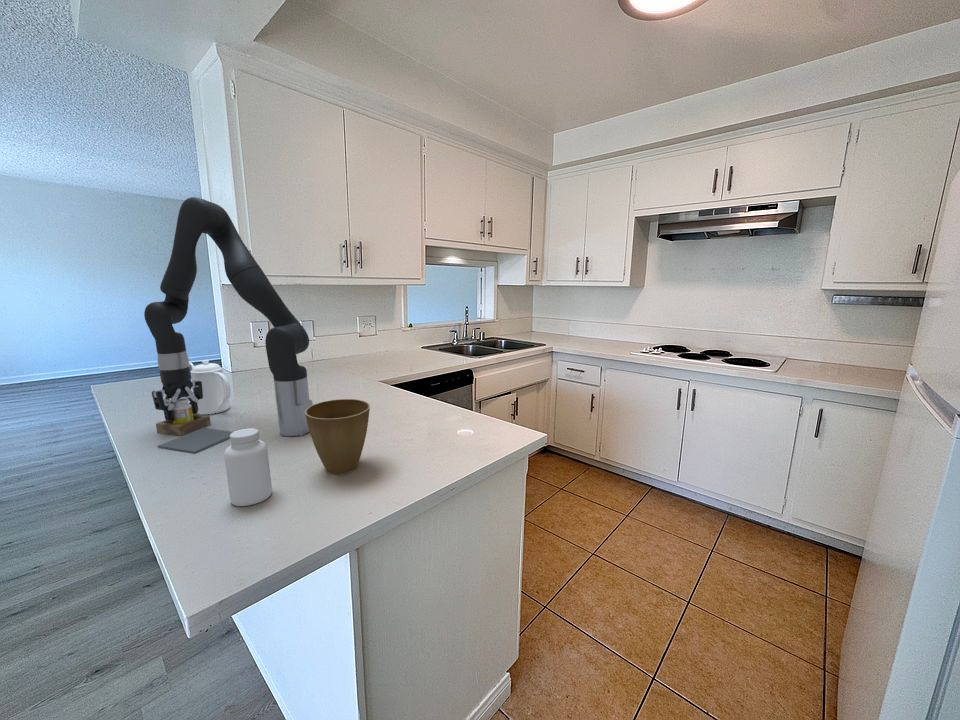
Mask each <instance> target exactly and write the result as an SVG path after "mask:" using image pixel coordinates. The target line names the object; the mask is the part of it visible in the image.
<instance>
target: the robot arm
mask: <svg viewBox="0 0 960 720" xmlns="http://www.w3.org/2000/svg"><path fill="white" fill-rule="evenodd" d="M175 226H176V227H175V232H174V236H173V237H174V239H173V244H172V249H171V254H170V259H169V262H168V265H167V267H166V270H165V272H164V275H163V277H162V281H161V283H160V287H159V288H160V292H162V293H163V294H164V295H165V297H164V300H163V301H154V302H150V303H149V304H147V305H146V306H145V308H144V313H143V315H144V320H145V323H146V326H147V327H148V329H149V331H150V333H151V335H152V337H153V339H154V341H155V342H154V343H155V347H156V353H157V365H158V371H159V376H160V381H161V384H162V388H161V389H159V390H152V391H151V396H152V400H153V404H154V408H155V410H157V411H158V410H159V411H163V413H164V415H163V416H164V419H165V420H167V421H169V422H172V421H174V415H173V410H171V409H172V407H173V405H174V403H175V402H176V400H177V399H181V398H186V399H187V401H188V403H189V404H191V407H192V413H193V414H196V413H197V411H198V404H197V402H198V400H199V399H202V398H203V391H202V382H201V381H193V382H192V374H191V371H192V370H191V365H189V362H190V360H189V355H188V353H187V348H186V347H187V346H186V340H185V337H184V335H183V334H182V333H181V332H177V331H175V328H174V326H173V325H176V324H179V323H181V322H182V321H183V320H184V319H185V318H186V316H187V314H188V311H189V310H188V309H189V301H190V299H189V298H190V297H189V296H190V293H191V290H192V288H193V285H194V283H195V281H196V278H197V274H198V273H197V272H198V271H197V270H198V265H197V255H196V249H197V244H198V242H199V239H200V237H201V236H202V234H206V235H207V236H209V237H210V238H211V240H213V242H214V243H215V245H216V246H217V247H218V249H219V250H220V252H221V255H222V257H223V264H224V266H223V267H224V272H225V275H226V277H227V280H229V283H230V284H231V285H232V287H233V288H234V290H235V291H236V293H237V294H238V296H240V298H241V299H242V300H244V301H245V302H246V303H247V304H248V305H250V306H251V307H252V308H254V309H255V310H257V311H258V312H260V313H261V314H262V315H263V316H264V317H265V318H266V319H268V321H269V322H270V324H271V325H272V326H273V327H272V328H270V329H269V330H268V331H267V333H266V336H265V341H264V343H265V351H266V357H267V363H268V367H269V371H270V372H271V373H272V376H273V377H272V378H273V384H274V393H275V403H276V409H277V410H276V411H277V421H278V428H279V434H280V436H284V437H296V436H298V437H299V436H301V437H302V436H304V435H306V434H308V433H310V431H309V428H308V424H307V420H306V415H305V410H306V409H307V408H308V407H310V406H312V405H314V403H313V399H312V400H311V399H310V393H309V391H310V390H309V382H308V371H307V368H306V367H305V366H303V365H300V364H299V363H298V358H297V357H298V356H297V355H299V354H301V353H303V352H305V351H307V349H308V348H309V345H310V337H309V335H308V332H307V331H306V329H305V327H304V326H303V325H302V324H301V323H300V322H299V320H298V319H297V317H295V315H293V313H292V312H291V311H290V309H289V307H287V305H286V304H285V302H284V301H283V299H282V297H280V294H278V292H277V291H276V289H275V288H274V286H273V285H272V283H271V282H270V279H269V278H268V277H267V275H266V273H265V272H264V270H263V269H262V268H261V266H260V265H259V264H258V262H257V261H256V259H255V258H254V256H253V255H252V253H251V251H250V250H249V248H248V247H247V246H246V245H245V243H244V242H243V241H244V240H242V238H241V236H240V234H239V233H238V230H237V228H236V227H235V225H234V223H233V221H232V219H231V217H230V215H229V213H228V212H227V210H225V209H224V208H223V207H222V206H221V205H219V204H217V203H214V202H211V201H209V200H206V199H203V198H201V197H193V196H191V197H188V198H187V199H184V200H183V202H182V203H181V206H180V208H179V210H178V215H177V221H176V225H175ZM192 387H193V390H192ZM193 392H194V393H193Z"/></svg>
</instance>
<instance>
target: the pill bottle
mask: <svg viewBox="0 0 960 720" xmlns="http://www.w3.org/2000/svg"><path fill="white" fill-rule="evenodd" d="M232 432H233V433H231V434H230V439H229V444H230V445H229V446H228V447H226V449H225V450H224V453H223V458H224V465H225V471H226V479H227V486H228V494H229V499H230V502H231V503H232V505H233V506H236V507H247V506H253V505H256V504H258V503H261V502H263V501H265V500H267V499H268V498H269V497H270V496H271V495H272V492H273V486H272V485H273V484H272V477H271V476H272V475H271V468H270V460H269V459H270V458H269V452H268V446H267V443H265V441H263V440H261V439H260V432H259V429H257V428H251V427H250V428H243V429H238V430H235V431H232Z"/></svg>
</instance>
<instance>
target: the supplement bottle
mask: <svg viewBox="0 0 960 720" xmlns="http://www.w3.org/2000/svg"><path fill="white" fill-rule="evenodd" d="M189 403H190V402H189V400H188V399H187V398H186V397H182V398H180V399H177V400H176V402H175V403H174V405H173V407H172V409H171V410H173V415H174V421H173V424H177V425H182V424H184V423H187V422H190V421H193V420H194V418H193V413H192V407H191V404H189Z"/></svg>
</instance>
